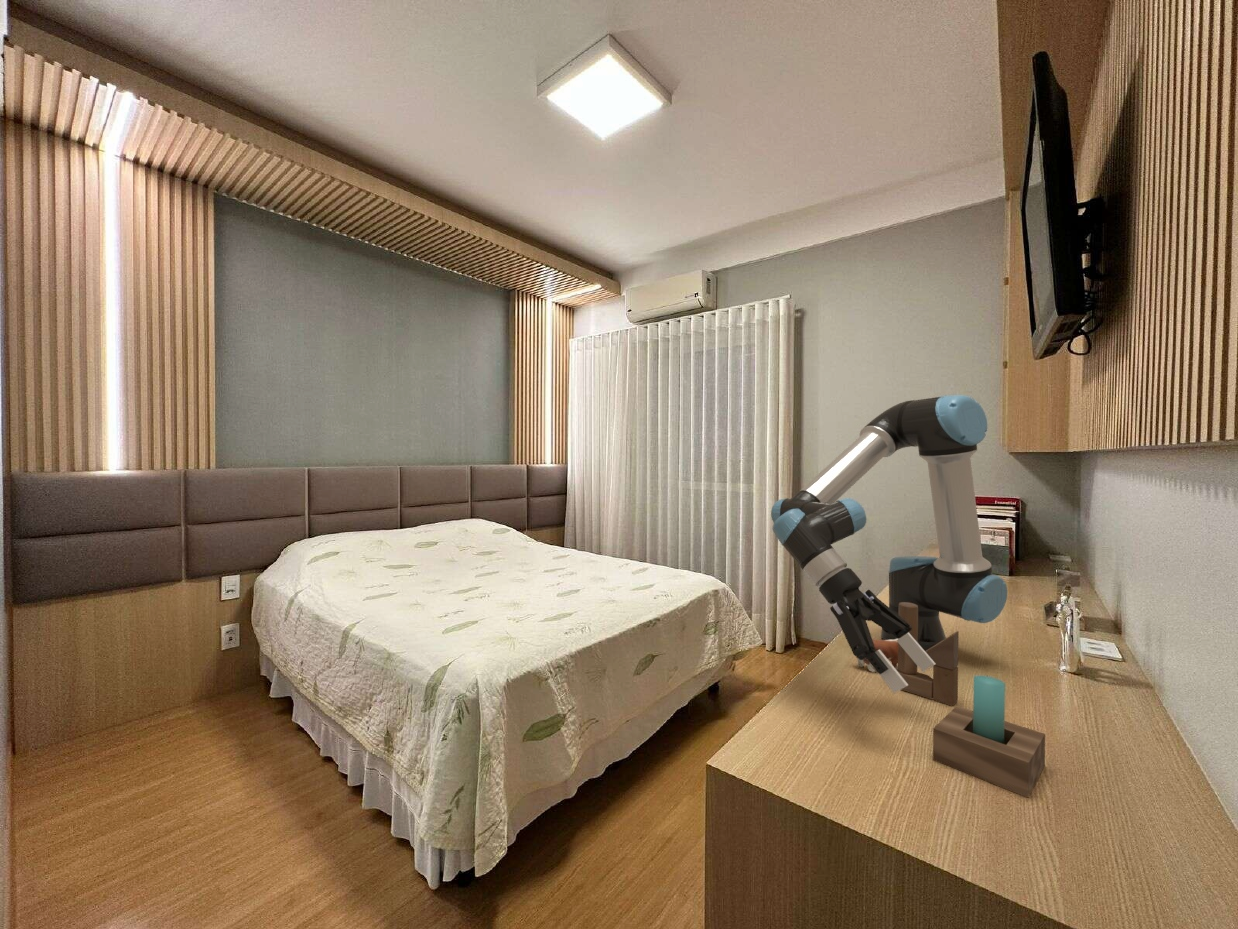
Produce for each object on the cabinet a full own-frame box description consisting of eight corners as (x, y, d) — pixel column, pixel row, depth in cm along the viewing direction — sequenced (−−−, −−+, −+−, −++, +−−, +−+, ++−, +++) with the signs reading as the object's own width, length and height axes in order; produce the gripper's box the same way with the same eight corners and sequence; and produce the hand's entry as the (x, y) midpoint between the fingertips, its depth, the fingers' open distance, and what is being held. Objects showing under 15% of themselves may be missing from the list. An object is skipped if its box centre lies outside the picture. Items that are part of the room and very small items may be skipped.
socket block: (956, 734, 88) (956, 705, 88) (1044, 765, 79) (1045, 734, 79) (932, 759, 80) (933, 728, 80) (1028, 798, 71) (1028, 762, 71)
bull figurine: (921, 679, 110) (922, 643, 110) (854, 671, 115) (855, 635, 115) (916, 672, 115) (917, 636, 115) (852, 663, 119) (852, 629, 119)
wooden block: (952, 707, 98) (954, 615, 98) (893, 688, 106) (895, 603, 106) (958, 701, 101) (959, 611, 101) (899, 683, 108) (901, 600, 108)
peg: (976, 746, 82) (977, 673, 82) (1006, 757, 79) (1007, 681, 79) (969, 755, 80) (970, 680, 80) (1000, 766, 77) (1001, 688, 77)
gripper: (847, 579, 109) (923, 669, 98) (787, 598, 93) (870, 710, 81) (873, 558, 105) (955, 650, 94) (814, 575, 89) (906, 688, 77)
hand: (916, 678), depth 88 cm, fingers open, 13 cm apart
